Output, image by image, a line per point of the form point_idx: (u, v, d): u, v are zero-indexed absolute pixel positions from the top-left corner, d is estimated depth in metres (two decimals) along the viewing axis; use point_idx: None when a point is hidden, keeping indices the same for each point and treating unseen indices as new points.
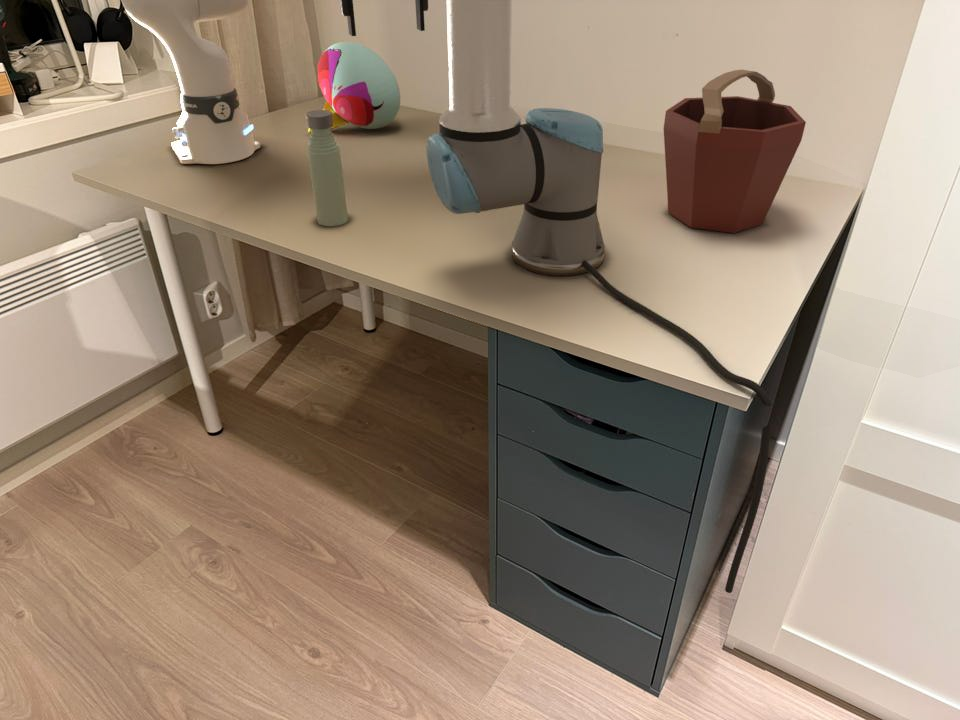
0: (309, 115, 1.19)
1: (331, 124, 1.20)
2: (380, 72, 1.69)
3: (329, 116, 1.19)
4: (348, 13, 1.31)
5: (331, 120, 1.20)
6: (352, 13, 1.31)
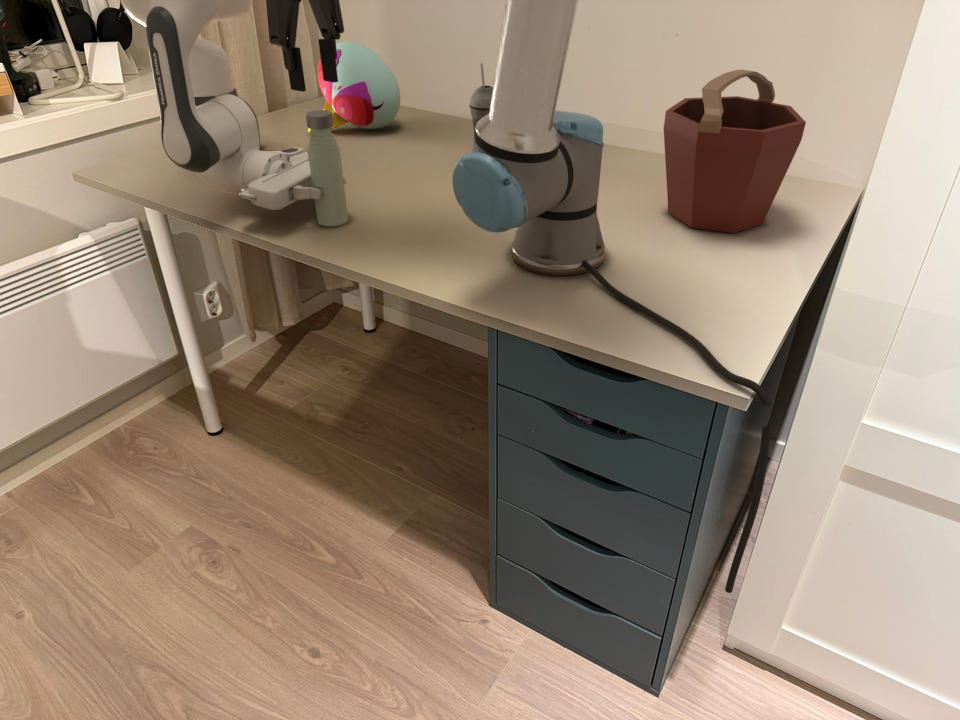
0: (309, 115, 1.19)
1: (331, 124, 1.20)
2: (380, 72, 1.69)
3: (329, 116, 1.19)
4: None
5: (331, 120, 1.20)
6: None
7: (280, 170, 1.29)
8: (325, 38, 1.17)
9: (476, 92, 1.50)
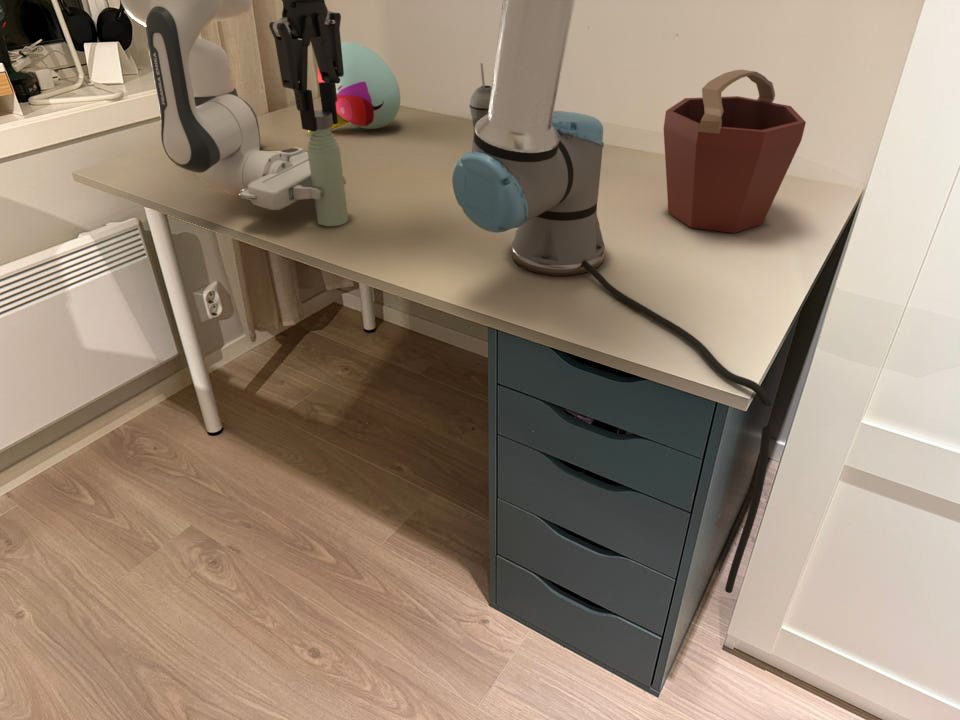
0: None
1: (331, 124, 1.20)
2: (380, 72, 1.69)
3: (329, 116, 1.19)
4: None
5: (331, 120, 1.20)
6: None
7: (280, 170, 1.29)
8: (325, 82, 1.20)
9: (476, 92, 1.50)
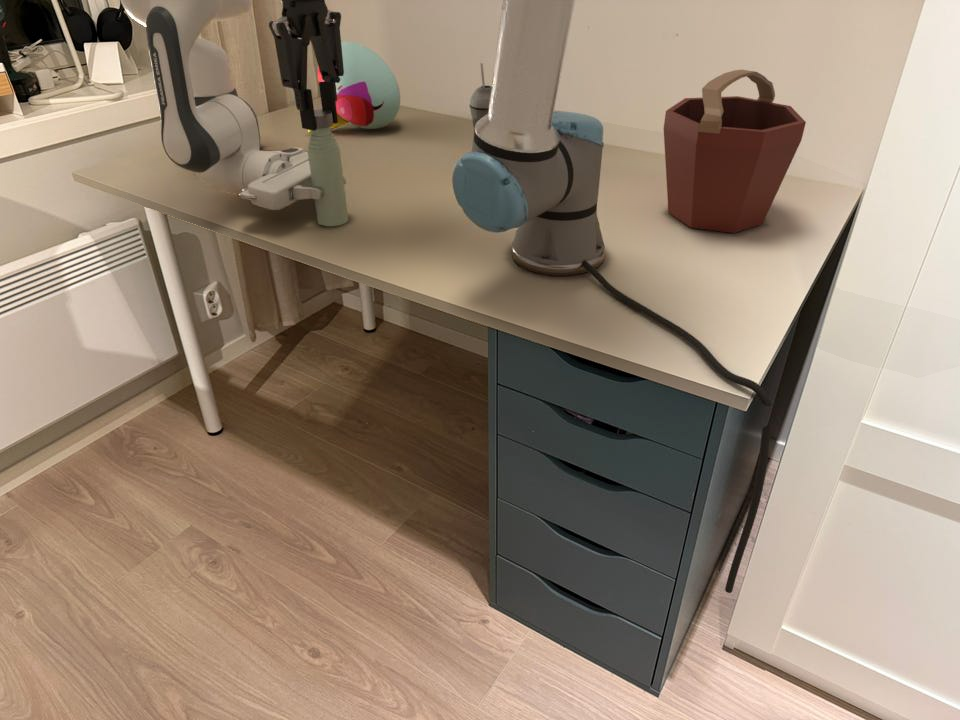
0: (329, 112, 1.20)
1: None
2: (380, 72, 1.69)
3: None
4: None
5: None
6: None
7: (280, 170, 1.29)
8: (325, 81, 1.20)
9: (476, 92, 1.50)
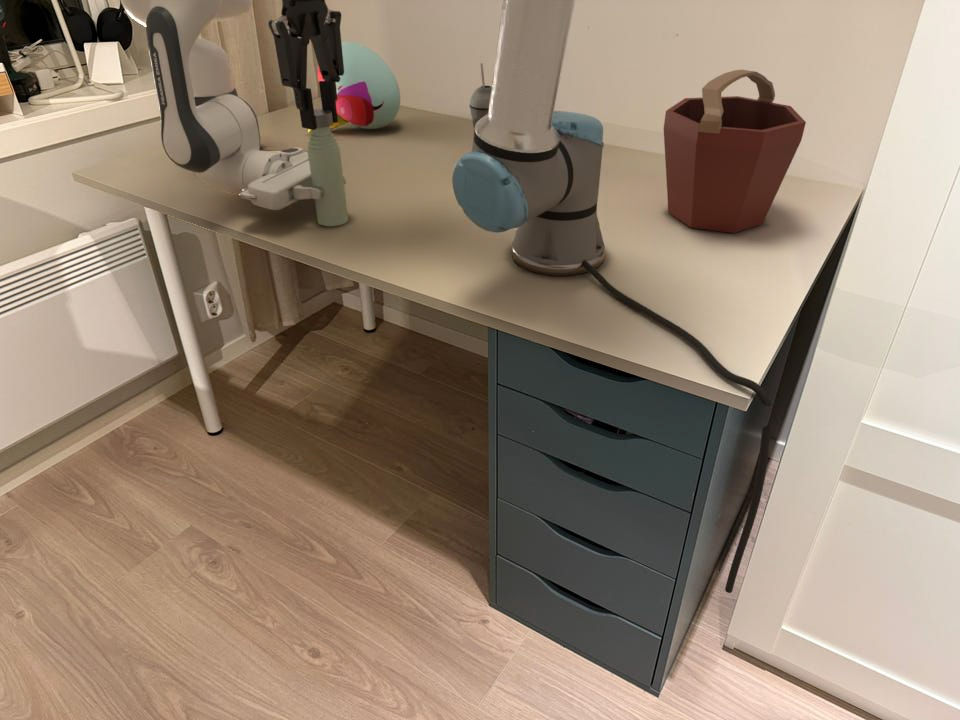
0: None
1: None
2: (380, 72, 1.69)
3: None
4: None
5: None
6: None
7: (280, 170, 1.29)
8: (325, 80, 1.19)
9: (476, 92, 1.50)
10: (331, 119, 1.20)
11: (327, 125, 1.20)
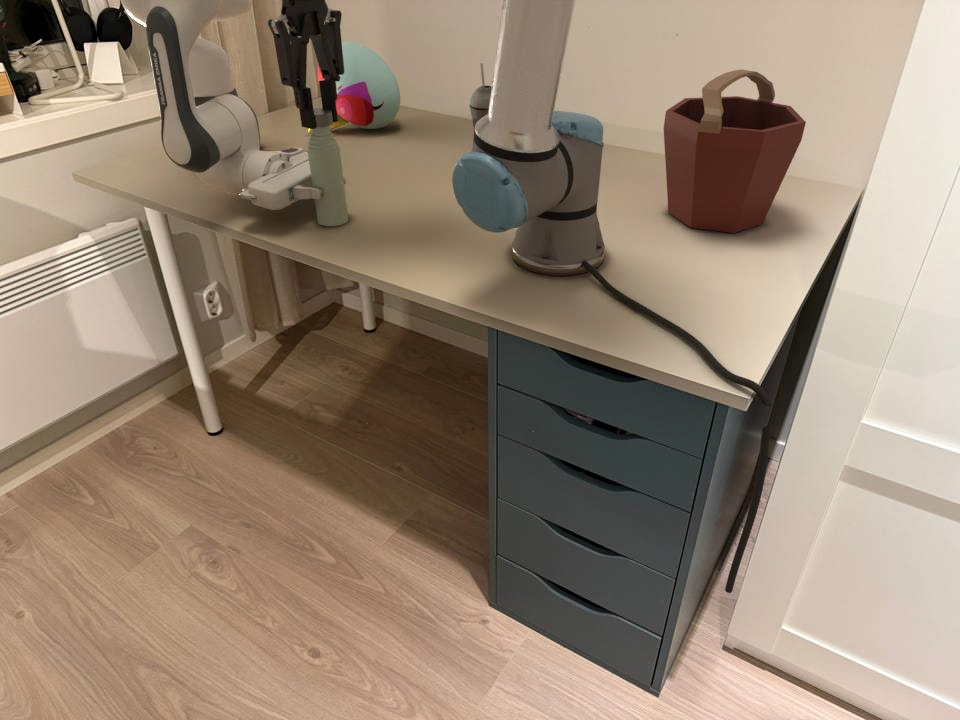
0: (314, 114, 1.18)
1: (332, 120, 1.21)
2: (380, 72, 1.69)
3: (331, 112, 1.20)
4: None
5: (331, 116, 1.21)
6: None
7: (280, 170, 1.29)
8: (325, 80, 1.19)
9: (476, 92, 1.50)
10: None
11: None
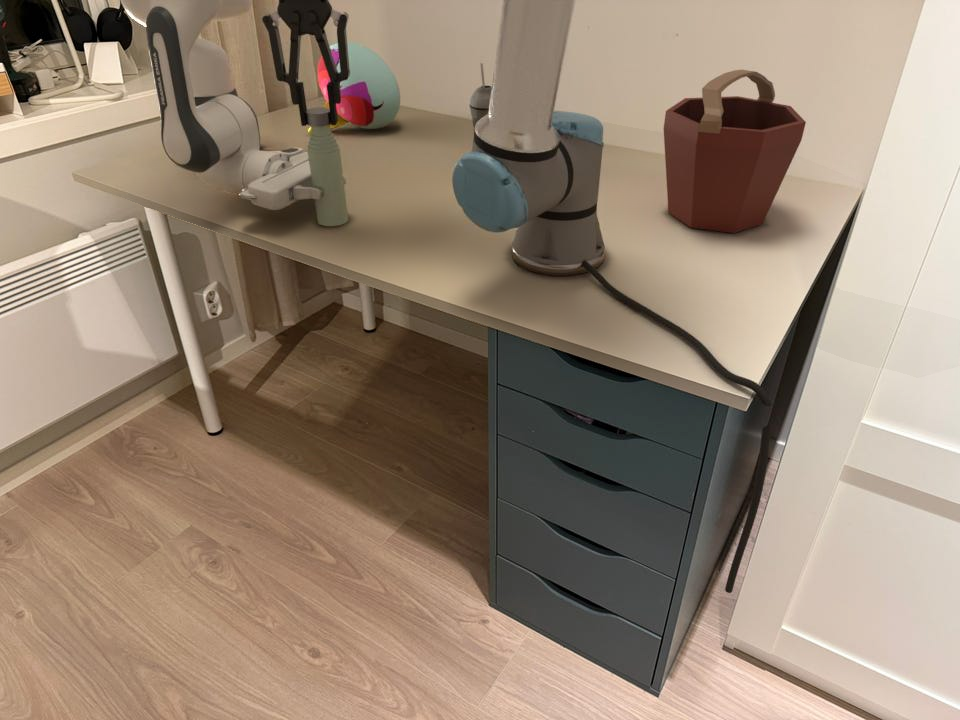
0: (328, 109, 1.20)
1: None
2: (380, 72, 1.69)
3: None
4: (297, 101, 1.18)
5: None
6: (301, 102, 1.18)
7: (280, 170, 1.29)
8: (297, 83, 1.17)
9: (476, 92, 1.50)
10: (312, 120, 1.19)
11: (307, 123, 1.20)
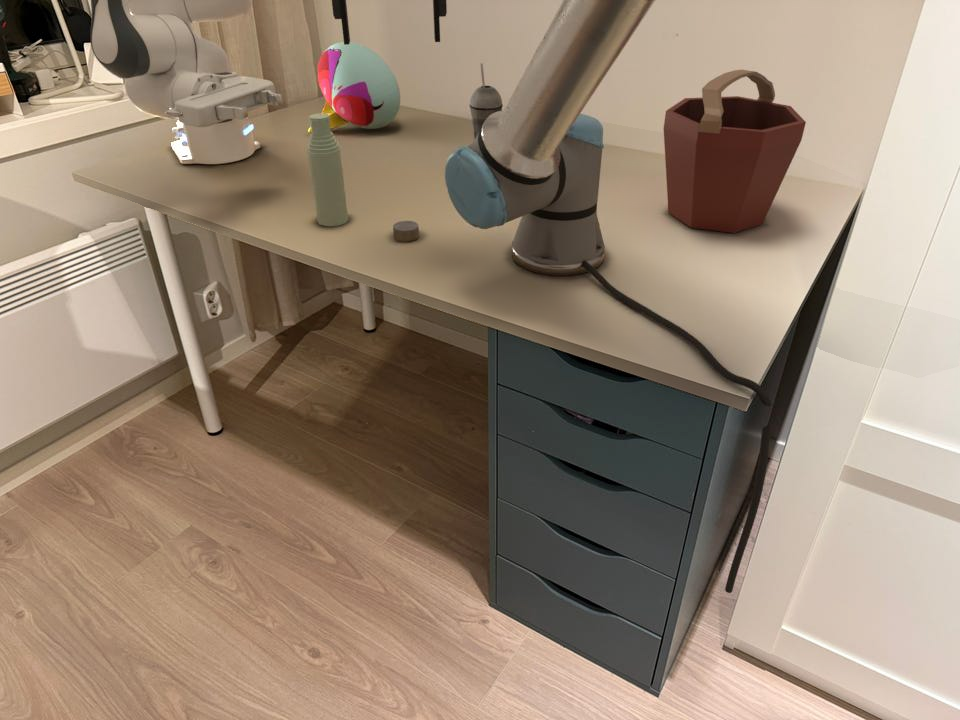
0: (414, 223, 1.24)
1: None
2: (380, 72, 1.69)
3: None
4: (340, 15, 1.03)
5: None
6: (344, 16, 1.03)
7: (210, 90, 1.26)
8: None
9: (476, 92, 1.50)
10: (401, 236, 1.22)
11: (395, 238, 1.23)
